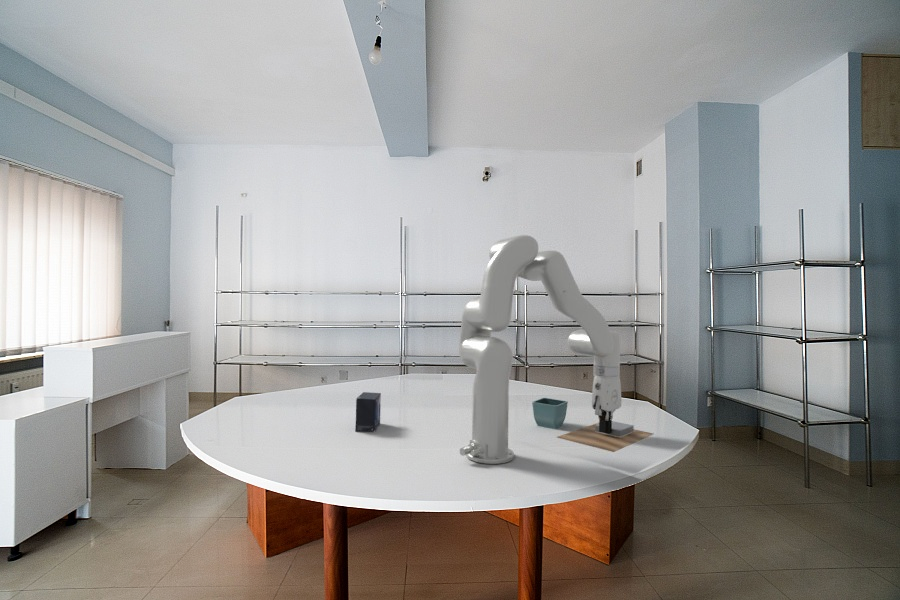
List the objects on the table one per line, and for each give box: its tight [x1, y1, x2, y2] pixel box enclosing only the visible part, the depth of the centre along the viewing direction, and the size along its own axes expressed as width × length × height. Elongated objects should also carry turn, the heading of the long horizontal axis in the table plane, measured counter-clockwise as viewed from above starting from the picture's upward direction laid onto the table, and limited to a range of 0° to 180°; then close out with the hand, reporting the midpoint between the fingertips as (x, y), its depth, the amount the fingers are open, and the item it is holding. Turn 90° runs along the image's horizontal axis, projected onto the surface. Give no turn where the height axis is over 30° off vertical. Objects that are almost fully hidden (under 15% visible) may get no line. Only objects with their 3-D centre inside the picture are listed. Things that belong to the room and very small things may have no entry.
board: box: [556, 422, 654, 453], centre depth 141 cm, size 26×18×1 cm
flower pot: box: [532, 397, 569, 429], centre depth 152 cm, size 9×9×9 cm
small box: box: [354, 391, 382, 433], centre depth 151 cm, size 11×6×10 cm, turn 179°
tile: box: [595, 420, 635, 437], centre depth 145 cm, size 2×8×9 cm
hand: (605, 432), depth 141 cm, fingers closed
